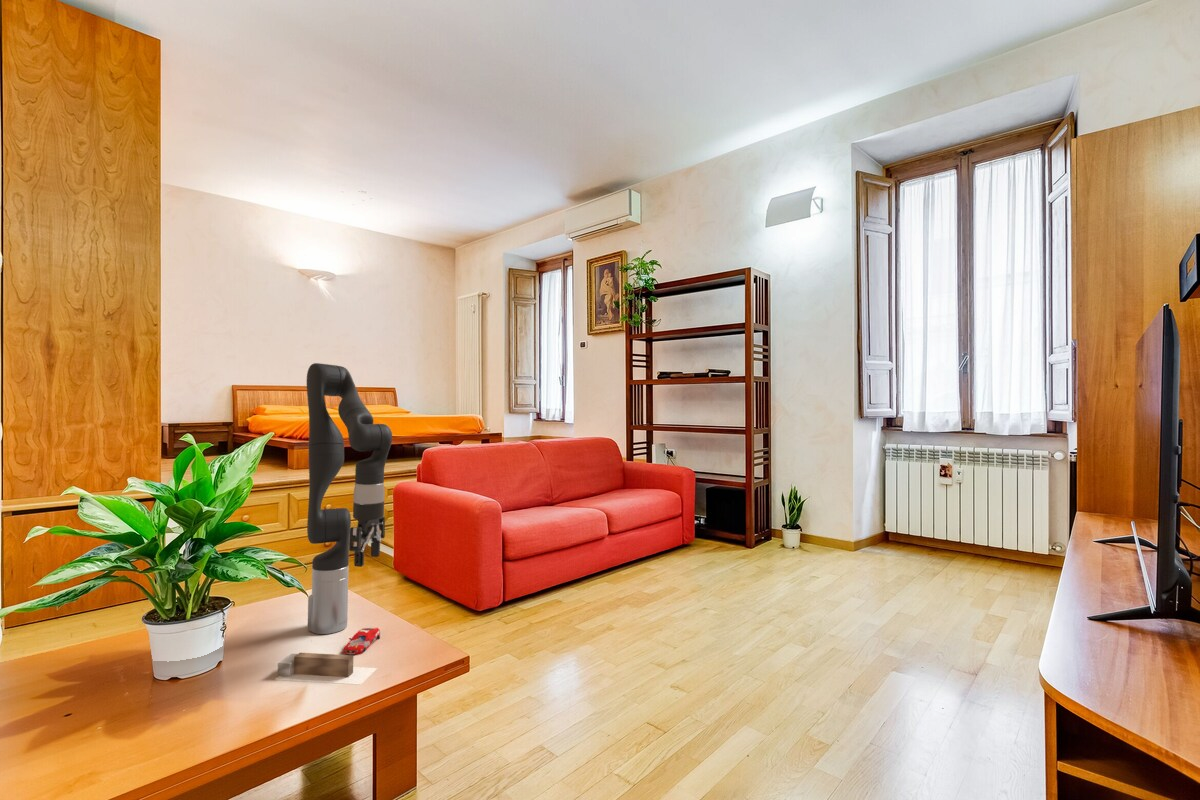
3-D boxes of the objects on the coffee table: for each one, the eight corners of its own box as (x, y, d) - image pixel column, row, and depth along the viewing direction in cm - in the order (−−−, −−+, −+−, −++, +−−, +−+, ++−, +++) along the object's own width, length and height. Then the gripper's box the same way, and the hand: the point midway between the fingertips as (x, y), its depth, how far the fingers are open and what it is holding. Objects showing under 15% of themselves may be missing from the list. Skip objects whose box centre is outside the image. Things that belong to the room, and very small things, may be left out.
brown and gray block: (277, 676, 131) (277, 658, 131) (290, 666, 136) (291, 649, 136) (345, 680, 130) (345, 662, 130) (356, 670, 135) (356, 652, 135)
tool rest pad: (274, 682, 129) (274, 679, 129) (296, 666, 137) (296, 663, 137) (360, 687, 128) (360, 684, 128) (377, 670, 136) (377, 668, 136)
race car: (360, 660, 142) (360, 643, 142) (339, 658, 143) (339, 642, 143) (384, 638, 155) (384, 623, 155) (364, 637, 156) (364, 622, 156)
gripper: (368, 494, 158) (367, 552, 159) (340, 504, 144) (338, 568, 145) (395, 495, 158) (393, 554, 158) (369, 506, 144) (367, 570, 144)
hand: (367, 561), depth 151 cm, fingers open, 8 cm apart
